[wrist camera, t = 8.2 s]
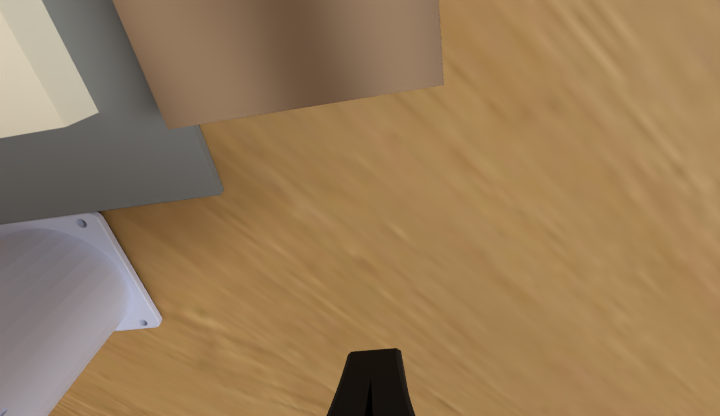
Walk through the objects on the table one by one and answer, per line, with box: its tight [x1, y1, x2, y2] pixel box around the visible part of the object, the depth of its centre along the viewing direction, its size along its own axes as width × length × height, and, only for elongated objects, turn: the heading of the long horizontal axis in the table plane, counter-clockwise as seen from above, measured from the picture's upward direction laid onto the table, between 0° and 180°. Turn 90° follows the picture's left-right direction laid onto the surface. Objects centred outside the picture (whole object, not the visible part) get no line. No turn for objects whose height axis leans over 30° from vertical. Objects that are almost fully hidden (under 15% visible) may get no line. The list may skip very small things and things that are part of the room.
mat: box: [0, 0, 224, 225], centre depth 15 cm, size 13×16×1 cm
